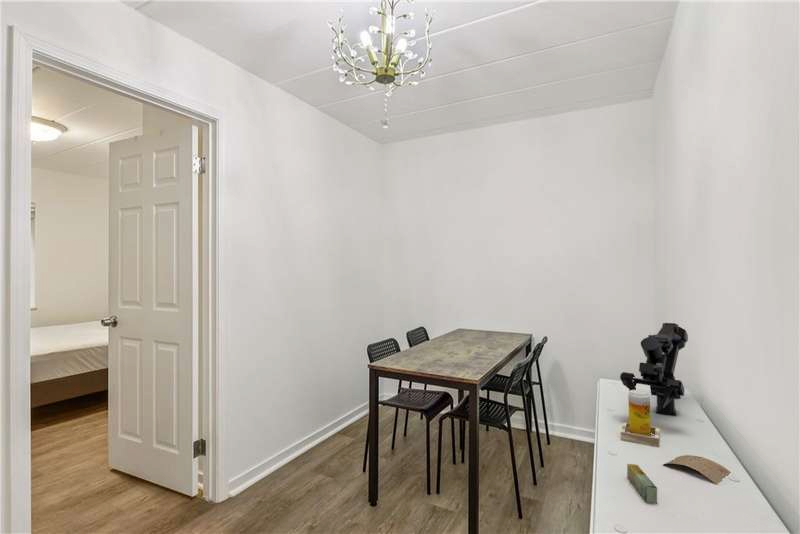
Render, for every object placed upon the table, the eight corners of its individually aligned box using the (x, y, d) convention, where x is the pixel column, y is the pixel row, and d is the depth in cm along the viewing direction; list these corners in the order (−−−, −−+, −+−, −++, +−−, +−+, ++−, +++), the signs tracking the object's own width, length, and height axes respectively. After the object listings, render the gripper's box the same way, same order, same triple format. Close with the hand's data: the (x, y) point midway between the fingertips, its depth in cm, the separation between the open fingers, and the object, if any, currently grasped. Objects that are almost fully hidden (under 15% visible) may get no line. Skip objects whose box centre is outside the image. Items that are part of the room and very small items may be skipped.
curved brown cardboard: (659, 466, 112) (659, 457, 112) (675, 456, 118) (675, 447, 118) (722, 489, 100) (721, 478, 100) (736, 477, 106) (736, 466, 106)
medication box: (658, 504, 94) (658, 487, 94) (645, 503, 94) (645, 486, 95) (637, 478, 106) (637, 463, 106) (626, 477, 106) (626, 462, 106)
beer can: (644, 442, 126) (642, 396, 126) (625, 436, 132) (624, 391, 132) (655, 438, 129) (653, 392, 129) (636, 432, 135) (634, 388, 135)
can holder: (623, 429, 137) (623, 421, 138) (659, 435, 132) (659, 427, 132) (621, 440, 129) (620, 432, 129) (659, 447, 123) (658, 439, 123)
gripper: (620, 350, 146) (611, 386, 139) (681, 357, 133) (674, 397, 125) (628, 367, 152) (619, 403, 144) (687, 375, 138) (681, 415, 130)
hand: (646, 404), depth 136 cm, fingers open, 9 cm apart
